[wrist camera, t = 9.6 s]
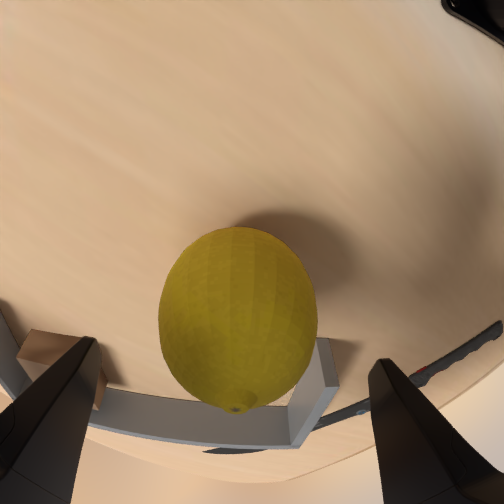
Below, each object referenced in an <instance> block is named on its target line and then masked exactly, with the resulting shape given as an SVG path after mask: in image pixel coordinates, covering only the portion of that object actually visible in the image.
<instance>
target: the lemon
mask: <svg viewBox="0 0 504 504" xmlns="http://www.w3.org/2000/svg"><path fill="white" fill-rule="evenodd" d="M158 321H159V335H160V344H161V350H162V353H163V357H164V359H165V361H166V363H167V365H168V367H169V369H170V371H171V373H172V375H173V376H174V378H175V379H176V380H177V381H178V382H179V383H180V384H181V386H182V387H183V388H184V389H185V390H186V391H188V392H189V393H190V394H191V395H193V396H194V397H196V398H198V399H199V400H201V401H203V402H205V403H207V404H209V405H212V406H214V407H218V408H222V409H223V410H224V411H225V412H227V413H230V414H243V413H246V412H247V411H248V410H249V409H255V408H258V407H262V406H264V405H267V404H269V403H271V402H273V401H275V400H277V399H279V398H280V397H281V396H283V395H284V394H285V393H287V392H288V391H289V390H290V389H292V388H293V387H294V386H295V385H296V384H297V382H298V381H299V380H300V378H301V377H302V376H303V374H304V373H305V371H306V369H307V368H308V366H309V363H310V361H311V358H312V354H313V350H314V346H315V341H316V336H317V323H318V318H317V308H316V300H315V294H314V289H313V286H312V283H311V280H310V278H309V276H308V274H307V272H306V270H305V268H304V266H303V264H302V263H301V261H300V259H299V258H298V257H297V255H296V254H295V253H294V252H293V251H292V250H291V249H290V248H289V247H288V246H287V245H286V244H285V243H284V242H282V241H281V240H279V239H277V238H276V237H274V236H272V235H271V234H269V233H267V232H264V231H260V230H257V229H254V228H247V227H230V228H224V229H218V230H215V231H213V232H211V233H208V234H206V235H203V236H202V237H200V238H199V239H198V240H196V241H195V242H194V243H192V244H191V245H190V246H189V247H187V248H186V249H185V250H184V251H183V253H182V254H181V256H180V257H179V258H178V260H177V261H176V262H175V264H174V265H173V267H172V268H171V270H170V272H169V274H168V276H167V279H166V282H165V285H164V288H163V292H162V295H161V299H160V304H159V315H158Z"/></svg>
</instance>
